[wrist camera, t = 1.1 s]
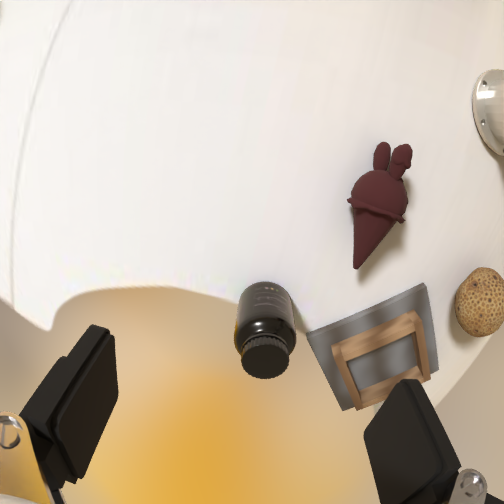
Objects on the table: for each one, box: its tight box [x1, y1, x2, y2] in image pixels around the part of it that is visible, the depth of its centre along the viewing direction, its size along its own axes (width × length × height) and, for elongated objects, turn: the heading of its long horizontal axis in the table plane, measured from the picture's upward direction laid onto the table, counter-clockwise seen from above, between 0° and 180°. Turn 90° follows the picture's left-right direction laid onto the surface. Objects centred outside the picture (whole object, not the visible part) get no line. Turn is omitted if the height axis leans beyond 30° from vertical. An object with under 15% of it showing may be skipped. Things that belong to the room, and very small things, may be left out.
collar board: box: [306, 283, 439, 411], centre depth 41 cm, size 18×18×4 cm
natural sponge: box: [455, 267, 504, 337], centre depth 34 cm, size 9×9×10 cm
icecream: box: [347, 142, 413, 269], centre depth 32 cm, size 7×7×15 cm
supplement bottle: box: [234, 282, 296, 379], centre depth 35 cm, size 7×7×12 cm
